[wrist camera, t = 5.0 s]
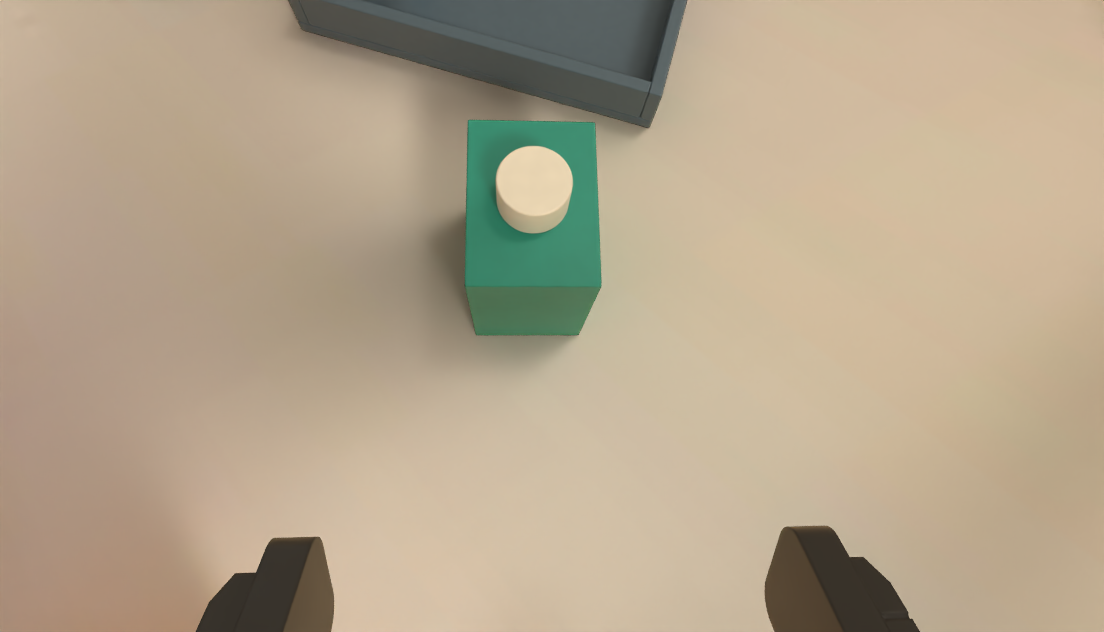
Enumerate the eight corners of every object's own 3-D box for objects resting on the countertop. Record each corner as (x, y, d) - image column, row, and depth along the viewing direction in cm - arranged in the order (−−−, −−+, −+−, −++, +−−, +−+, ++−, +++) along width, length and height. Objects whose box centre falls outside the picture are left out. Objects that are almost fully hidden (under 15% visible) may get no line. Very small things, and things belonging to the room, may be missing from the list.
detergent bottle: (575, 206, 29) (601, 96, 20) (578, 335, 27) (608, 271, 19) (477, 205, 28) (464, 92, 20) (475, 335, 27) (461, 271, 19)
